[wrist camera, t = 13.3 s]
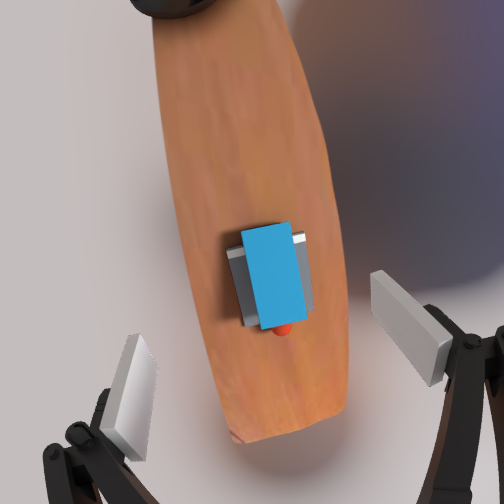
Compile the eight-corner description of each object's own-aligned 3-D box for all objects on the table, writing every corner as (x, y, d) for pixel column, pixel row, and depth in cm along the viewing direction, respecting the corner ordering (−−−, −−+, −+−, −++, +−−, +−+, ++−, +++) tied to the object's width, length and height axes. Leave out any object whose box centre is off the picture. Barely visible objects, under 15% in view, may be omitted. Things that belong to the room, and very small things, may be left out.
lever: (239, 231, 49) (261, 336, 50) (241, 231, 42) (266, 352, 43) (281, 222, 49) (300, 327, 51) (289, 221, 42) (311, 341, 44)
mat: (225, 248, 46) (226, 250, 45) (303, 231, 46) (304, 232, 45) (245, 325, 50) (245, 327, 50) (313, 308, 51) (314, 310, 50)
